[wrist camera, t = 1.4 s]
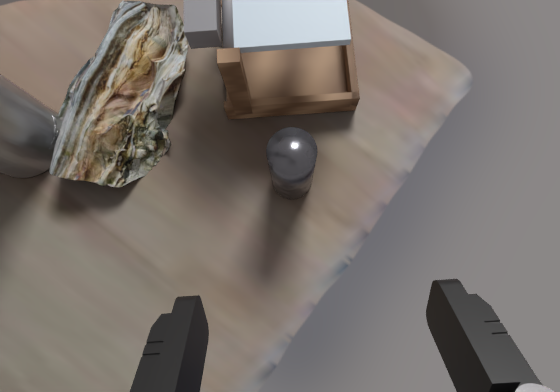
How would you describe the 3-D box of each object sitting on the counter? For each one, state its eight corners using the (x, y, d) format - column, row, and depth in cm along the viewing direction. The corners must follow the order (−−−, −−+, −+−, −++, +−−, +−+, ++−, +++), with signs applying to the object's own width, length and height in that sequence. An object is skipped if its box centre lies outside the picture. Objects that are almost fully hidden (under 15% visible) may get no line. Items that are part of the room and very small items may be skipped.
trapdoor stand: (228, 119, 43) (205, 64, 31) (225, 17, 46) (203, -67, 34) (355, 110, 42) (377, 51, 31) (343, 8, 45) (360, -80, 34)
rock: (58, 169, 46) (158, 205, 42) (6, 158, 39) (120, 200, 36) (117, 0, 46) (221, 22, 43) (77, -40, 40) (196, -17, 36)
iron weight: (273, 200, 40) (267, 177, 31) (271, 163, 41) (265, 129, 32) (312, 197, 40) (319, 173, 31) (309, 160, 41) (315, 125, 32)
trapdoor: (191, 64, 34) (183, 49, 32) (190, -27, 37) (183, -48, 34) (347, 52, 34) (351, 36, 32) (337, -39, 36) (340, -61, 34)
